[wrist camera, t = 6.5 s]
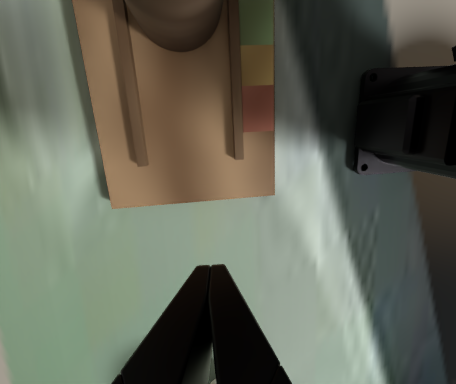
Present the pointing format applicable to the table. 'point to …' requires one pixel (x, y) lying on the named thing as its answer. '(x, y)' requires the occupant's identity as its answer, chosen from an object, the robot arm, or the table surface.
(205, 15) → the peg
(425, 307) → the table surface
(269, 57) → the tuner board
